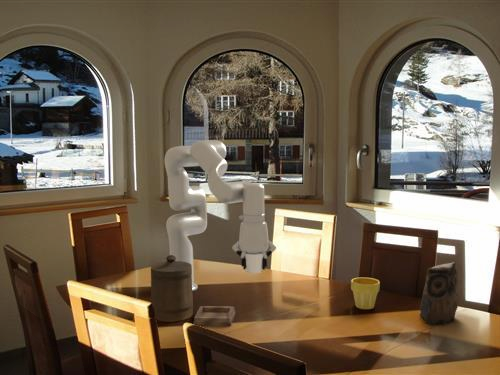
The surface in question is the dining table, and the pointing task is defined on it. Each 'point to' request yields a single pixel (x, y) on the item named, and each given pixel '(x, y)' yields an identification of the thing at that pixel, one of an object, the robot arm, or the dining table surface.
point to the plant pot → (365, 292)
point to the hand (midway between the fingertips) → (254, 268)
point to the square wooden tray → (214, 316)
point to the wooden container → (172, 290)
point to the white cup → (254, 262)
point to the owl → (440, 295)
